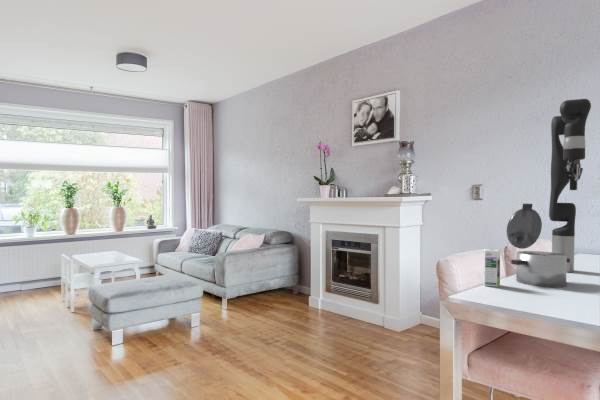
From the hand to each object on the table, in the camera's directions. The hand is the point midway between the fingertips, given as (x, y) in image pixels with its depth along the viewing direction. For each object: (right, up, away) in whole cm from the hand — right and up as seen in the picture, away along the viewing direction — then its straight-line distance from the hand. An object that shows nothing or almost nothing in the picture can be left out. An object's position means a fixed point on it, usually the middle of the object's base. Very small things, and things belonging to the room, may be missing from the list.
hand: (573, 190), depth 167 cm
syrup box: (-36, -39, -4) cm, 53 cm away
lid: (-14, -16, +10) cm, 23 cm away
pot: (-12, -39, +3) cm, 41 cm away
